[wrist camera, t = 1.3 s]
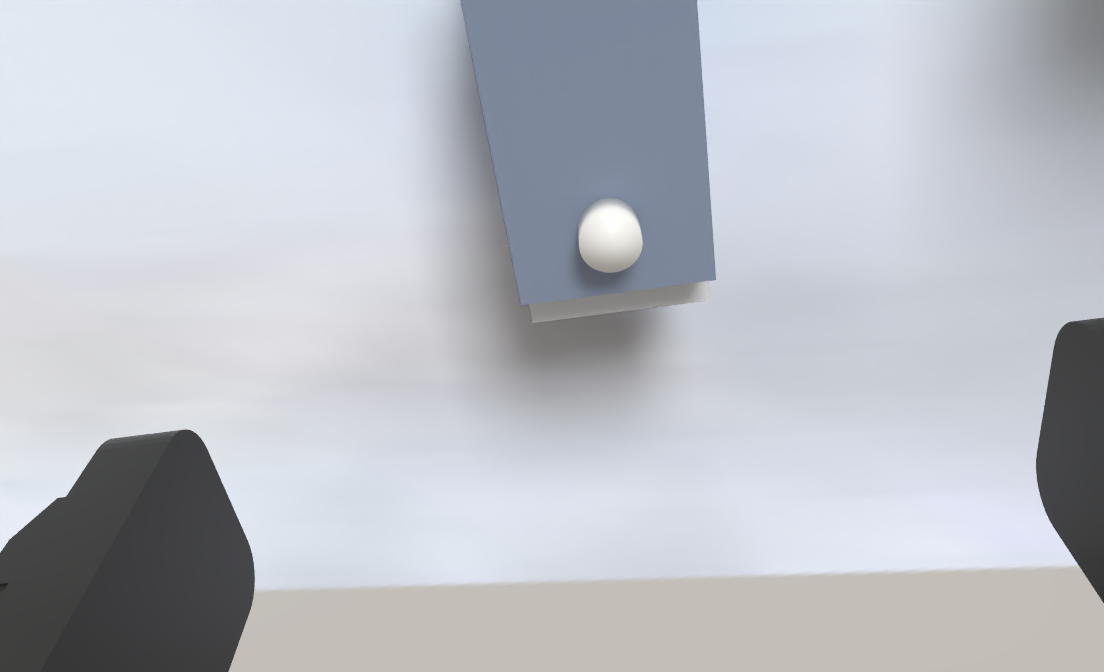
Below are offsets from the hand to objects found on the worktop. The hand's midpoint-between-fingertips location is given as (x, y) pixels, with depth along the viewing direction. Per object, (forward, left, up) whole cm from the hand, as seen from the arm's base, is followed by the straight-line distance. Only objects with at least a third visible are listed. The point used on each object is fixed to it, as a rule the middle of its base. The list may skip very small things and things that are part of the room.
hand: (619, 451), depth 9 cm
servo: (0, 0, -16) cm, 16 cm away
